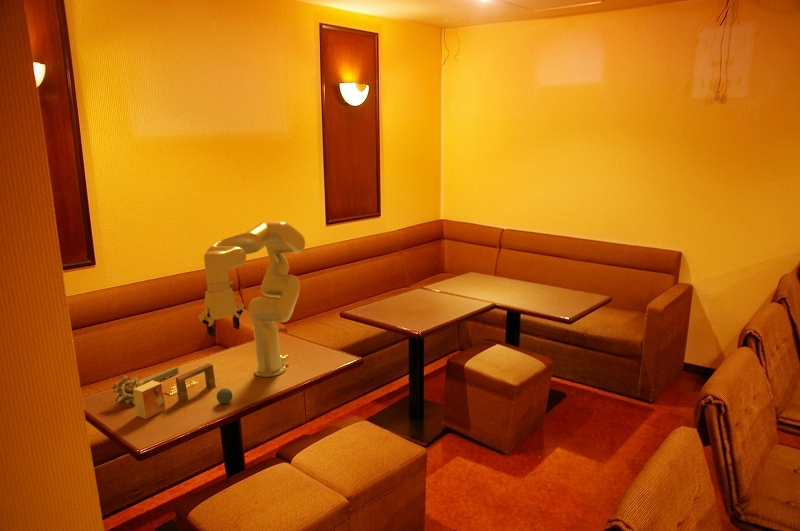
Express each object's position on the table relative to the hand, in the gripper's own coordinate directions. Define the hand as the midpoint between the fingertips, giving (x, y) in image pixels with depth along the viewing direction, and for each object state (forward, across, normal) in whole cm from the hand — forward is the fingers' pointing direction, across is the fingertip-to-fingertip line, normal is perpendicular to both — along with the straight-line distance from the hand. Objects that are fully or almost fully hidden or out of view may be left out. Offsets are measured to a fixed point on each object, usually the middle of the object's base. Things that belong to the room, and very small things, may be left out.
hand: (224, 332), depth 201 cm
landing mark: (+27, +9, -30) cm, 41 cm away
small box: (+27, +24, -14) cm, 39 cm away
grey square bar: (+26, +11, -39) cm, 49 cm away
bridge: (+27, +6, -16) cm, 31 cm away
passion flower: (+27, +25, -30) cm, 48 cm away
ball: (+24, +3, 0) cm, 24 cm away
